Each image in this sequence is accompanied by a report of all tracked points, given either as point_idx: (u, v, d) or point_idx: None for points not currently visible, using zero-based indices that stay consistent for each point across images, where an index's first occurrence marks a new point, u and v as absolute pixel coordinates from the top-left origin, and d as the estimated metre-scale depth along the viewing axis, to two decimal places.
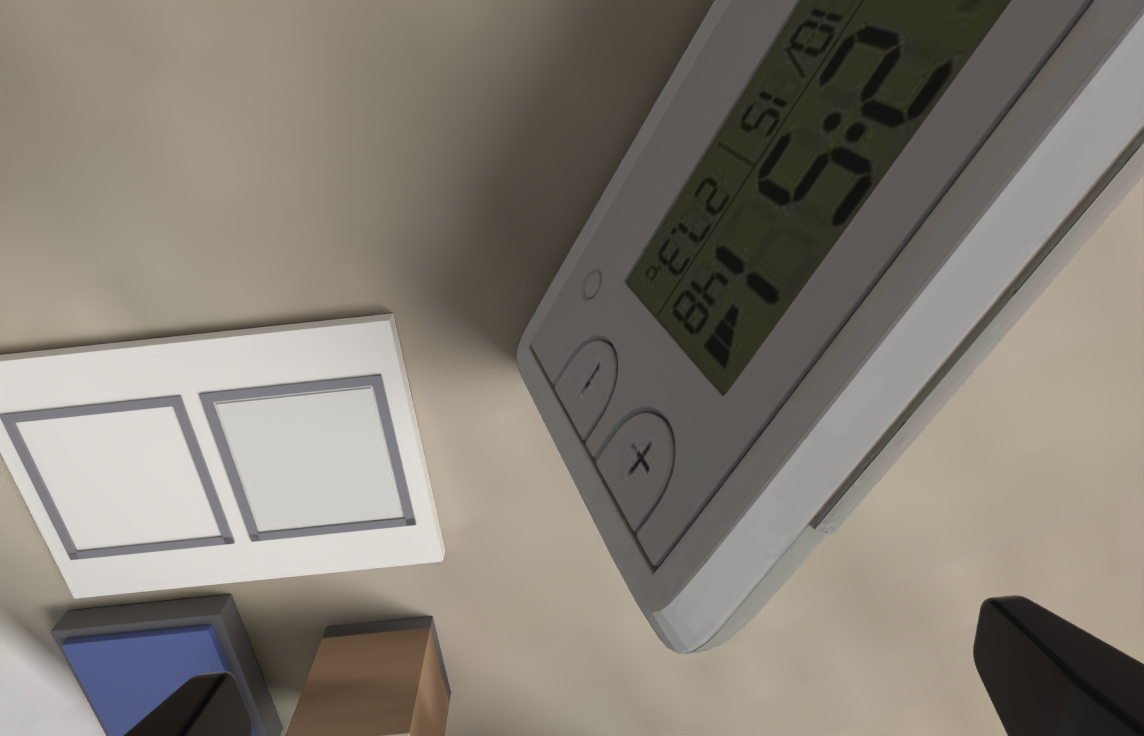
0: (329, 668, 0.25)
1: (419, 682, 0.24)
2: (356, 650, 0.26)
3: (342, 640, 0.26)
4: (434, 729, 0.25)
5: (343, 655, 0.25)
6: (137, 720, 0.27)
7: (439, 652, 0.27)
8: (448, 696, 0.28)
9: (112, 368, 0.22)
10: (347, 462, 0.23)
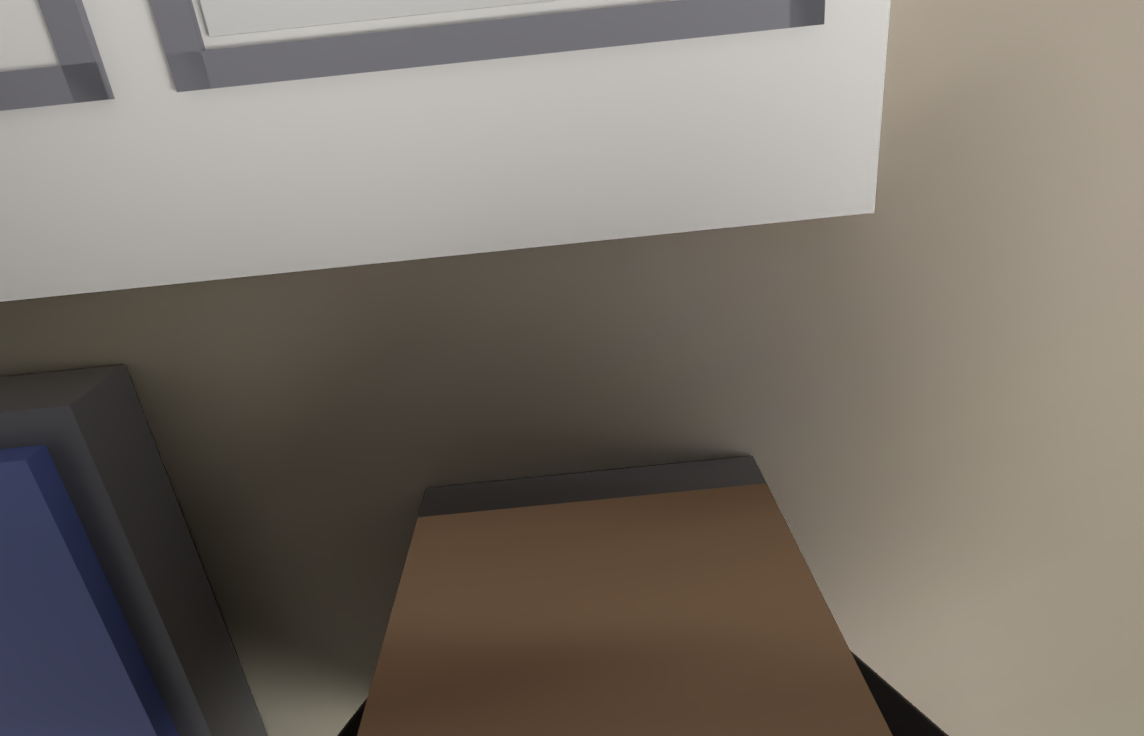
0: (461, 603, 0.07)
1: (847, 650, 0.06)
2: (545, 549, 0.07)
3: (486, 521, 0.08)
4: None
5: (502, 562, 0.07)
6: None
7: None
8: None
9: None
10: None
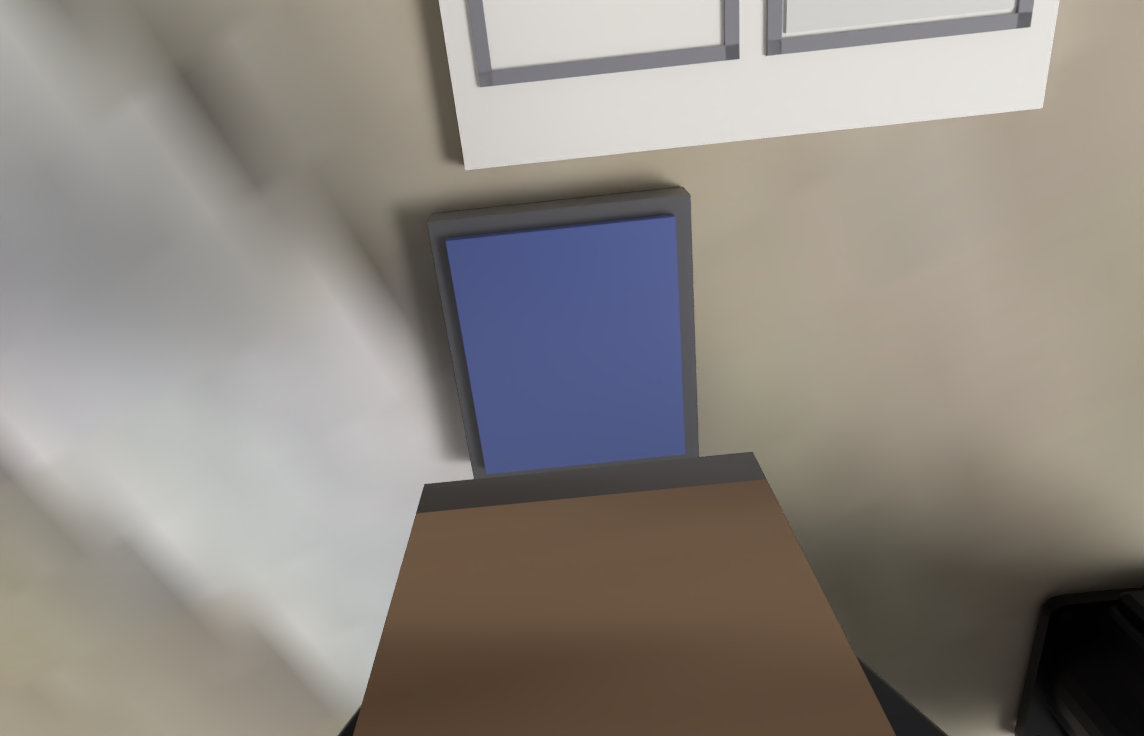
0: (460, 598, 0.07)
1: (848, 646, 0.06)
2: (544, 544, 0.07)
3: (485, 517, 0.08)
4: None
5: (501, 557, 0.07)
6: (524, 392, 0.18)
7: None
8: None
9: None
10: None
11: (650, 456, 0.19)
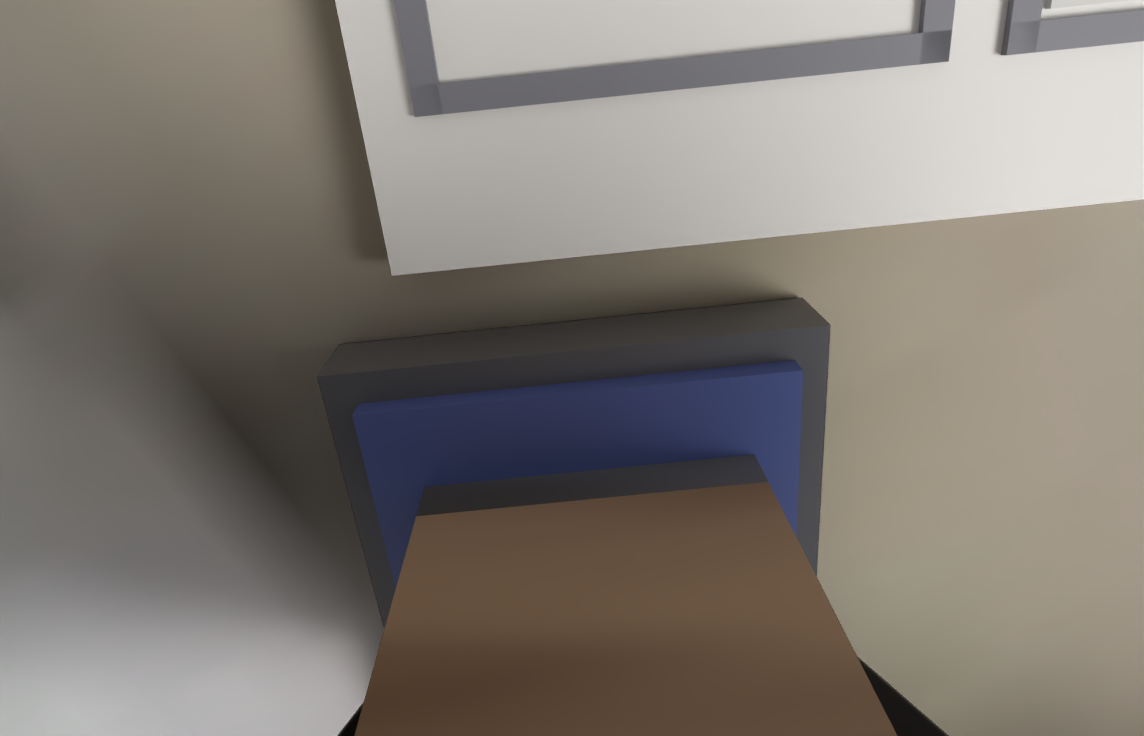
0: (460, 603, 0.07)
1: (851, 649, 0.06)
2: (545, 548, 0.07)
3: (485, 520, 0.08)
4: None
5: (501, 561, 0.07)
6: None
7: None
8: None
9: None
10: None
11: None
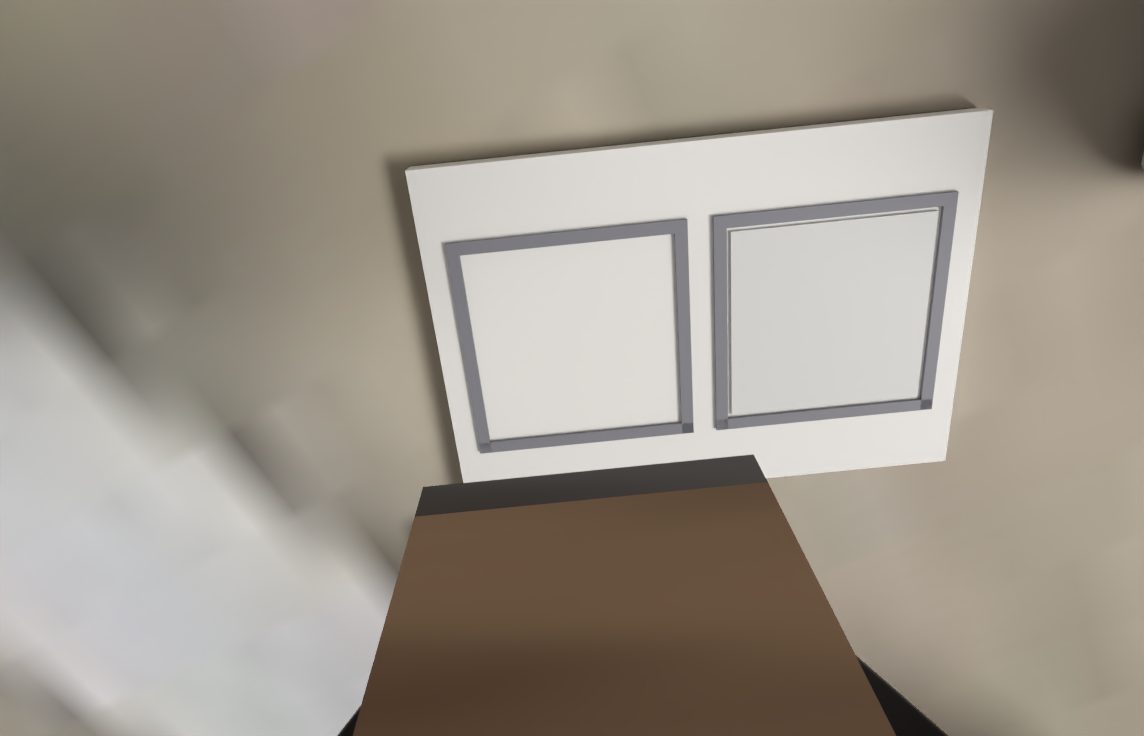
0: (459, 602, 0.07)
1: (851, 650, 0.06)
2: (543, 548, 0.07)
3: (484, 520, 0.08)
4: None
5: (500, 562, 0.07)
6: None
7: None
8: None
9: (608, 177, 0.16)
10: (870, 319, 0.18)
11: None
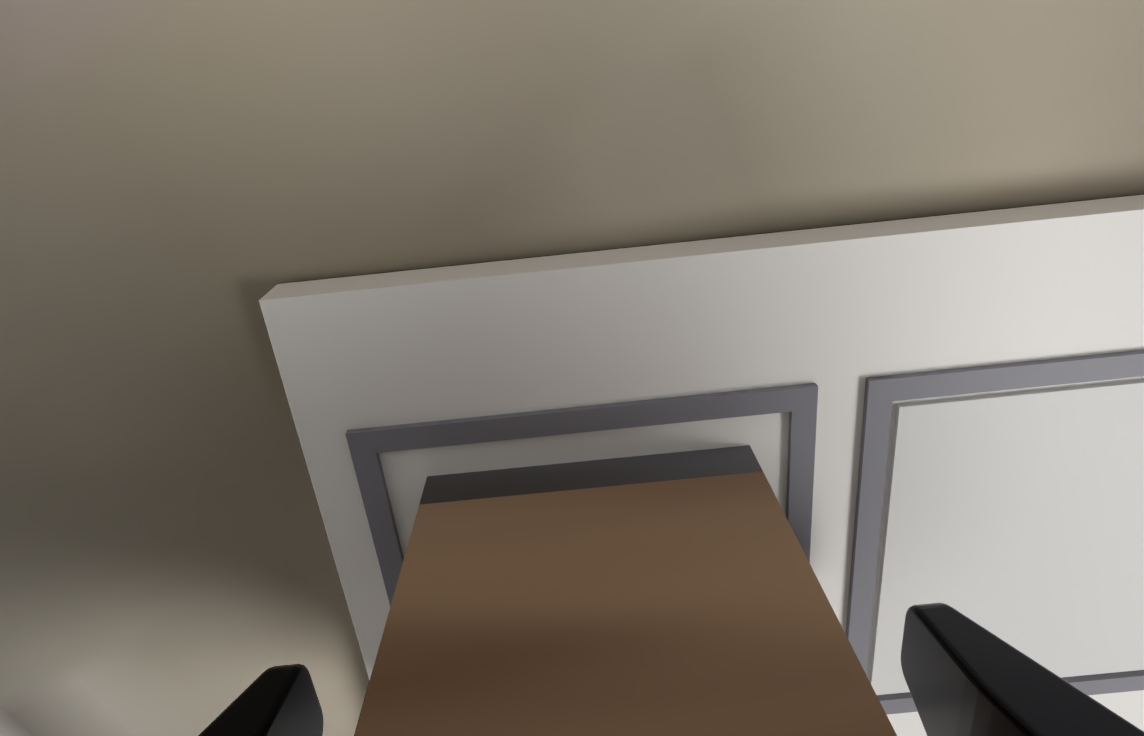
0: (462, 587, 0.07)
1: (842, 631, 0.06)
2: (545, 535, 0.08)
3: (486, 508, 0.08)
4: None
5: (503, 547, 0.07)
6: None
7: None
8: None
9: (667, 310, 0.08)
10: (1136, 547, 0.10)
11: None
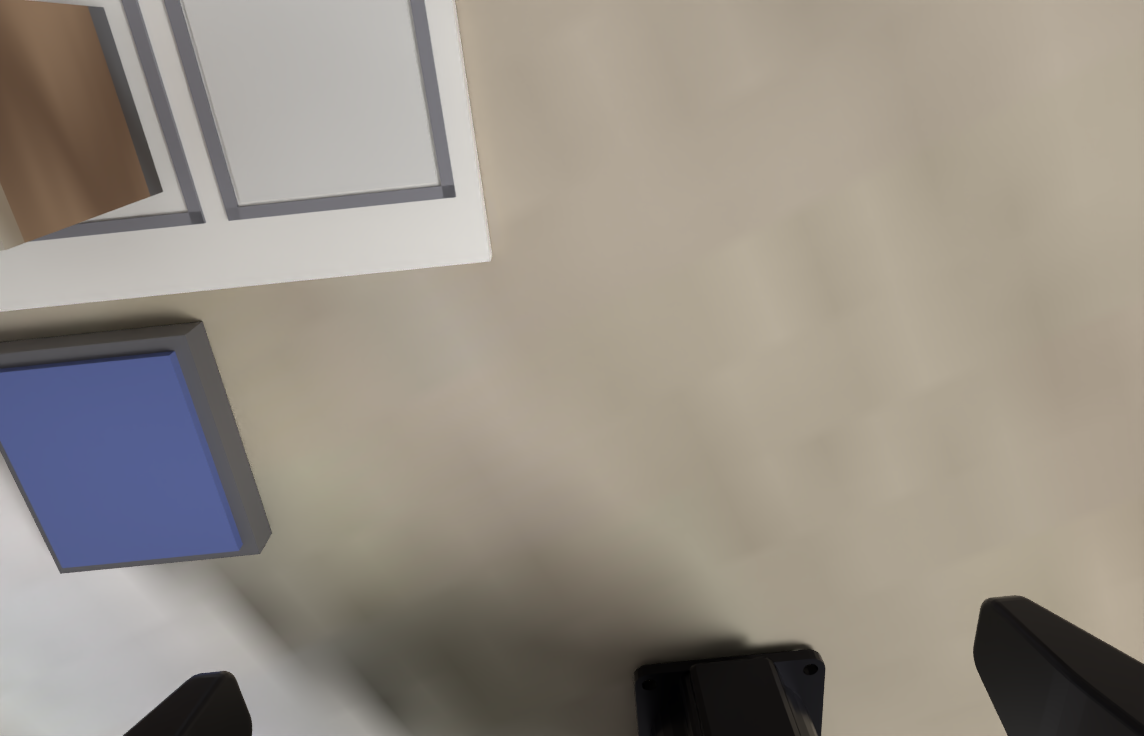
0: None
1: (9, 1, 0.13)
2: None
3: None
4: (70, 146, 0.14)
5: None
6: (76, 499, 0.20)
7: (123, 85, 0.16)
8: (149, 182, 0.17)
9: None
10: (362, 89, 0.17)
11: (207, 552, 0.21)
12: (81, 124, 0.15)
